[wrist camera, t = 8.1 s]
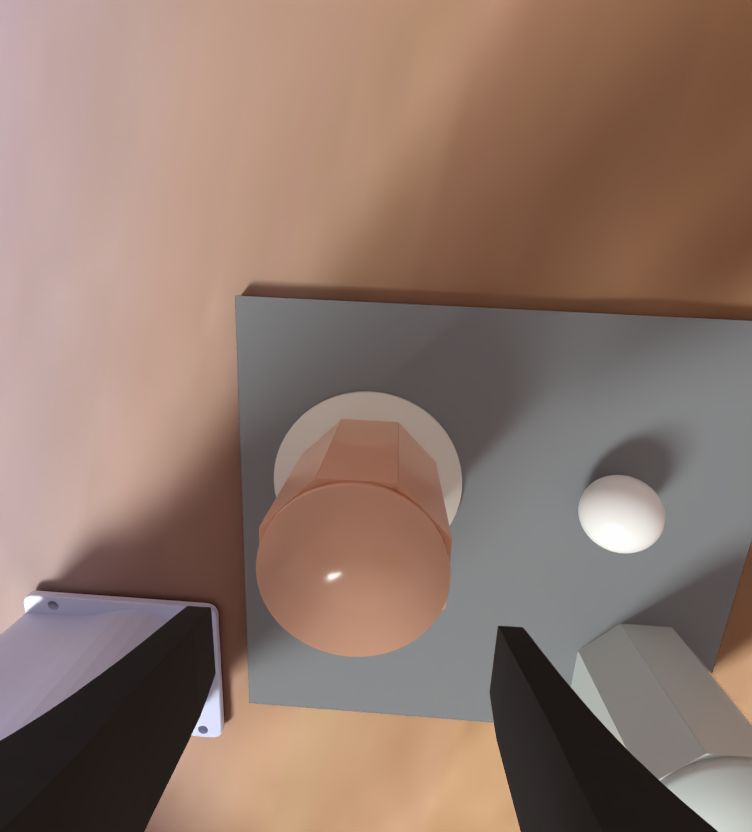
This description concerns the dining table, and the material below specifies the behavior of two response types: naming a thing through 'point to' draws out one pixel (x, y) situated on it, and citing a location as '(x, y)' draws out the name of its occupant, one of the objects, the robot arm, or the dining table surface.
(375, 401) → the pad
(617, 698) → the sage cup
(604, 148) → the dining table surface
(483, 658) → the mat
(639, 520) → the marble
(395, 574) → the tan piece
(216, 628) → the robot arm
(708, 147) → the dining table surface
